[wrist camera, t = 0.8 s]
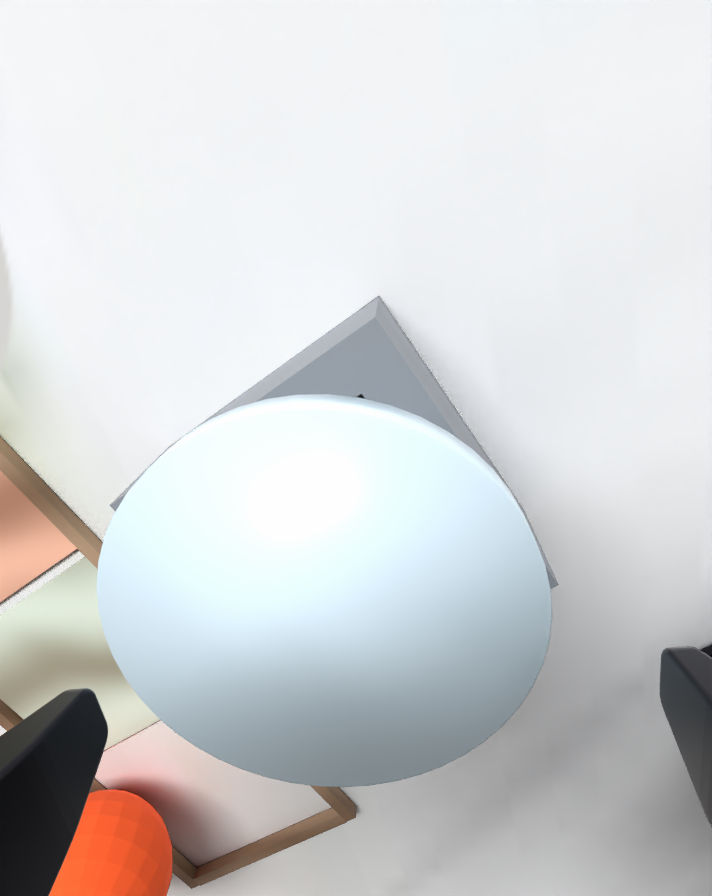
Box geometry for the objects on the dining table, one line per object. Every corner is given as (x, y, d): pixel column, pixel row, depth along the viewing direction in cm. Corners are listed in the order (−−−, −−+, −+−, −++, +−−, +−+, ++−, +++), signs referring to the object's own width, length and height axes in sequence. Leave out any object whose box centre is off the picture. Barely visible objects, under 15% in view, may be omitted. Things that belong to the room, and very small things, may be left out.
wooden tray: (357, 806, 29) (354, 846, 27) (195, 877, 32) (183, 918, 30) (-96, 336, 21) (-144, 347, 19) (-255, 487, 24) (-310, 509, 22)
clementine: (210, 758, 29) (191, 892, 22) (197, 867, 31) (175, 1024, 24) (45, 754, 28) (-28, 896, 21) (39, 868, 29) (-32, 1036, 22)
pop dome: (572, 564, 19) (634, 681, 14) (307, 700, 22) (282, 836, 17) (381, 279, 16) (377, 302, 11) (104, 481, 19) (3, 570, 14)
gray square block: (523, 509, 22) (558, 584, 17) (321, 621, 25) (304, 713, 20) (379, 295, 19) (374, 317, 15) (169, 446, 22) (109, 505, 17)
